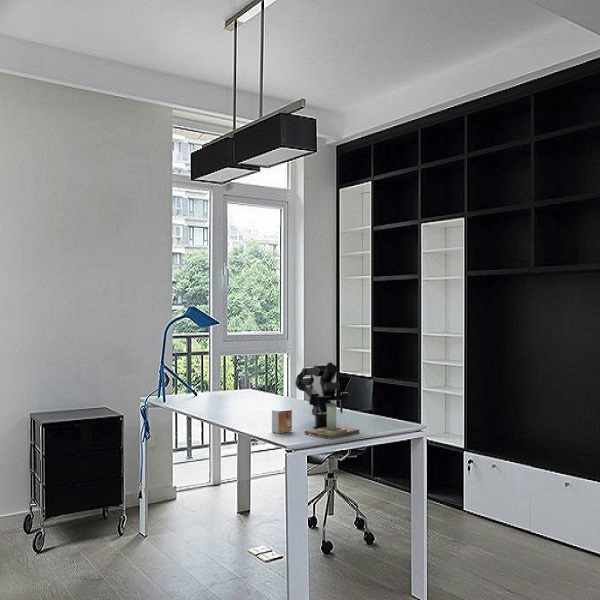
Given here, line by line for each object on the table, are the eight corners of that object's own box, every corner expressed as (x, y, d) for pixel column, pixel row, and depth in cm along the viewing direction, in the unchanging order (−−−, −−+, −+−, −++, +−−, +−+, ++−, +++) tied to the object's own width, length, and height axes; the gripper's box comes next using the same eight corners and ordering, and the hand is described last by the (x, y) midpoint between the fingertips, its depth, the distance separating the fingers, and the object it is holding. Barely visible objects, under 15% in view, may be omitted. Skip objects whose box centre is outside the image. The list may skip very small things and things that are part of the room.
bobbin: (323, 432, 311) (323, 405, 311) (325, 429, 317) (325, 403, 317) (337, 432, 309) (337, 405, 309) (339, 430, 316) (339, 403, 316)
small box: (278, 434, 315) (278, 411, 315) (271, 432, 320) (271, 409, 320) (292, 432, 320) (292, 409, 320) (285, 430, 324) (285, 408, 324)
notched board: (305, 434, 314) (304, 428, 314) (334, 428, 328) (334, 423, 328) (329, 439, 303) (329, 433, 303) (359, 432, 317) (359, 427, 317)
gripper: (309, 376, 316) (314, 403, 305) (348, 375, 319) (354, 402, 308) (307, 390, 324) (311, 417, 313) (345, 389, 327) (350, 416, 316)
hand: (331, 413), depth 312 cm, fingers open, 9 cm apart
